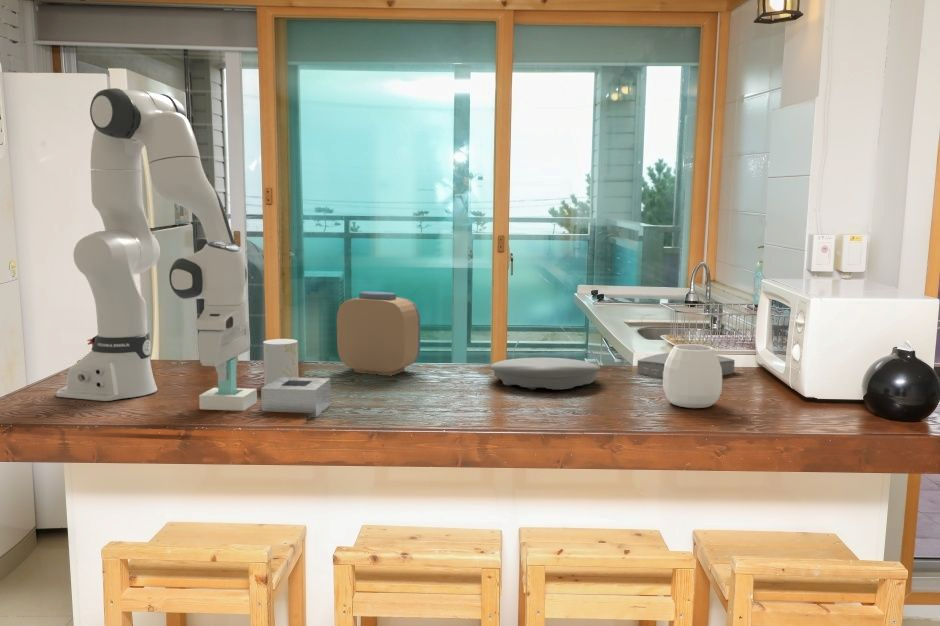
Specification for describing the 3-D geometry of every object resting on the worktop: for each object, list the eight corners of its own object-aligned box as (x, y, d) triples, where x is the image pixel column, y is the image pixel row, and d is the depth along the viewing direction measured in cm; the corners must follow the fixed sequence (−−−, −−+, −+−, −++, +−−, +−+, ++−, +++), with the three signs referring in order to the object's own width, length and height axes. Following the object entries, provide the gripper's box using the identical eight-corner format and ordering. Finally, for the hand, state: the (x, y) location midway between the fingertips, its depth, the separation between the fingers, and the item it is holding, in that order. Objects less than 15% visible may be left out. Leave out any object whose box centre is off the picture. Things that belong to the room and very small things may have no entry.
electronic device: (630, 373, 235) (630, 355, 234) (676, 363, 249) (677, 346, 249) (690, 385, 221) (691, 365, 220) (735, 374, 235) (736, 356, 235)
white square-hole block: (199, 413, 188) (199, 395, 187) (214, 404, 196) (213, 387, 195) (244, 414, 187) (243, 396, 186) (257, 406, 195) (256, 388, 194)
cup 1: (290, 394, 207) (289, 344, 205) (259, 392, 208) (257, 343, 207) (303, 387, 214) (302, 339, 213) (273, 385, 216) (271, 338, 215)
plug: (218, 404, 190) (217, 360, 188) (224, 401, 193) (222, 357, 191) (231, 405, 189) (230, 360, 188) (236, 402, 192) (235, 358, 191)
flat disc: (623, 386, 217) (623, 369, 217) (536, 400, 202) (536, 381, 201) (552, 370, 240) (552, 354, 240) (469, 381, 225) (469, 364, 224)
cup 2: (650, 401, 201) (652, 344, 199) (696, 396, 206) (698, 341, 205) (685, 414, 189) (687, 354, 187) (733, 408, 194) (736, 350, 192)
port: (261, 415, 186) (261, 388, 185) (280, 402, 198) (279, 376, 197) (315, 417, 185) (315, 389, 184) (331, 404, 197) (330, 378, 196)
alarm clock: (421, 371, 234) (421, 292, 231) (404, 378, 225) (404, 296, 223) (356, 365, 242) (355, 289, 240) (337, 371, 234) (336, 292, 231)
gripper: (230, 310, 199) (231, 368, 201) (191, 322, 179) (193, 387, 181) (256, 310, 198) (257, 369, 200) (221, 323, 178) (222, 389, 180)
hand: (227, 378), depth 190 cm, fingers closed on plug, 3 cm apart
